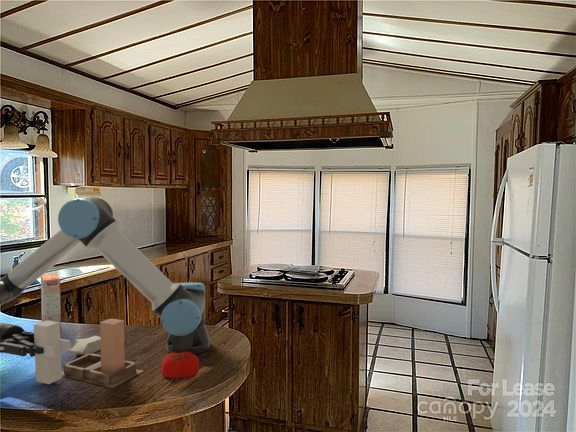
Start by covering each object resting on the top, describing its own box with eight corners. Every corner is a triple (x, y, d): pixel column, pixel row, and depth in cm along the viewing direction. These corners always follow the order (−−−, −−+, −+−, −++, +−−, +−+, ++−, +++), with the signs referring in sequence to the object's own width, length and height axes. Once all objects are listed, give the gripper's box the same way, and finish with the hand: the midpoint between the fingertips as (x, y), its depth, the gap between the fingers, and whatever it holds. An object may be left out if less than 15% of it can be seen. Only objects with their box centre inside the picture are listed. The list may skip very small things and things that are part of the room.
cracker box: (62, 331, 164) (60, 278, 163) (44, 334, 160) (42, 280, 159) (58, 321, 175) (56, 272, 174) (41, 324, 172) (40, 274, 171)
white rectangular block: (49, 375, 119) (47, 320, 118) (61, 378, 117) (59, 322, 116) (36, 381, 116) (33, 324, 115) (48, 384, 114) (46, 326, 113)
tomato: (160, 372, 128) (160, 351, 127) (196, 367, 132) (196, 347, 131) (162, 386, 119) (162, 364, 118) (201, 380, 123) (201, 358, 122)
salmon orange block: (111, 371, 125) (110, 318, 124) (124, 373, 123) (124, 320, 122) (101, 376, 121) (100, 322, 120) (114, 379, 119) (113, 324, 118)
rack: (55, 378, 123) (55, 365, 123) (89, 363, 134) (89, 351, 134) (112, 393, 114) (112, 379, 114) (143, 375, 125) (143, 362, 125)
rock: (47, 359, 138) (79, 362, 132) (47, 345, 138) (79, 347, 132) (100, 342, 158) (130, 345, 151) (100, 330, 158) (130, 332, 152)
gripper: (32, 340, 131) (88, 350, 122) (-26, 360, 115) (32, 374, 106) (31, 316, 131) (87, 325, 122) (-28, 333, 115) (31, 346, 106)
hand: (61, 348), depth 114 cm, fingers closed on white rectangular block, 4 cm apart
